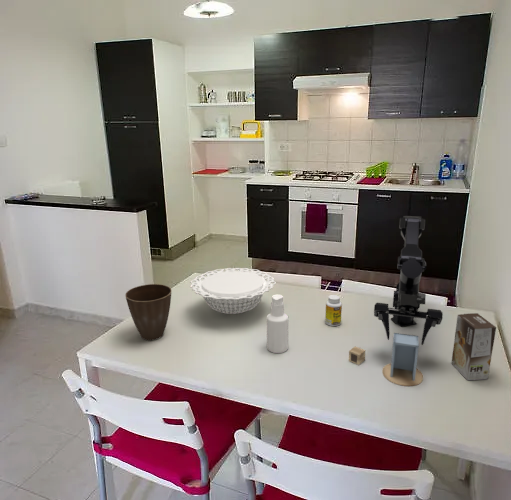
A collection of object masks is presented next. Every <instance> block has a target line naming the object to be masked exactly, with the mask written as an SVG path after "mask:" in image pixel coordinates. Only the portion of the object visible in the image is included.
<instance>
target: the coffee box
mask: <svg viewBox="0 0 511 500" xmlns="http://www.w3.org/2000/svg"><path fill="white" fill-rule="evenodd" d="M496 330H497V327H496V326H495V325H494V324H493V323H491V322H490V321H488V320H487V319H486V318H485V317H483V316H482V315H480V314H479V313H476V312H475V313H463V314H457V318H456V327H455V332H454V341H453V349H452V357H451V364H452V366H453V367H454V368H456V370H457V371H458V372H459V373H460V374H461V375H462V376H463V377H464V378H465V379H466V380H467V381H477V380H488V379H489V373H490V367H491V362H492V356H493V349H494V343H495V339H496Z"/></svg>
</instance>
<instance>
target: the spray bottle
mask: <svg viewBox="0 0 511 500" xmlns="http://www.w3.org/2000/svg"><path fill="white" fill-rule="evenodd" d="M270 304H271V306H270V307H271V308H270V313H268V314H267V315H266V348H267V350H268V351H269V352H270V353H274V354H282V353H286V351H288V349H289V316H288V314H287V313H285V307H284V306H285V303H284V296H283V295H282V294H280V293H279V294H273V295H272V296H271V303H270Z"/></svg>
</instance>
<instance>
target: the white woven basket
mask: <svg viewBox="0 0 511 500" xmlns="http://www.w3.org/2000/svg"><path fill="white" fill-rule="evenodd" d="M189 283H190V286H189V287H190V288H191V291H194V293H195V294H197V295H200V296H202V297H203V299H204V301H205V302H206V304H207V305H208V306H209V307H210V309H213V310H214V311H216V312H218V313H222V314H223V313H224V314H232V315H233V314H240V313H241V314H243V313H246V312H249V311H251V310H253V309H254V308H255V307H256V306H258V304H259V302H260V301H262V298H263V294H265V293H266V292H267V293H268V292H269V290H273V288H274V285H276V284H277V282H276V281H275V278H274V276H271V274H268V273H267V272H265V271H261V270H259V269H255V268H254V269H253V268H247V267H242V268H241V267H227V268H216V269H213V270H209V271H206V272H204V273H201V274H200V275H197V276H195V277H194V278H193V279H192V280H190V282H189ZM260 303H261V302H260Z"/></svg>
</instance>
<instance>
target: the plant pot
mask: <svg viewBox="0 0 511 500" xmlns="http://www.w3.org/2000/svg"><path fill="white" fill-rule="evenodd" d="M124 296H125V299H126V303H127V307H128V311H129V313H130V316H131V319H132V321H133V324H134V326H135V327H136V329H137V332H138V333H139V336H140V337H141V338H142V339H143V340H145V341H155V340H159V339H161V338H162V337H163V336H164V334H165V331H166V327H167V323H168V319H169V314H170V309H171V302H172V301H171V300H172V288H171V287H170V286H168V285H165V284H159V283H149V284H142V285H138V286H134V287H133V288H130V289H128V291H126V293H125V295H124Z"/></svg>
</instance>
